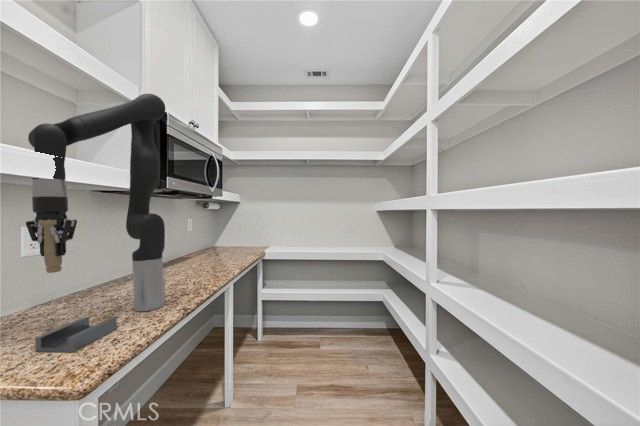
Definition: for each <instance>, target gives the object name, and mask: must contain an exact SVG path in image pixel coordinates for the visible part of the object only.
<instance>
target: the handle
mask: <svg viewBox="0 0 640 426" xmlns="http://www.w3.org/2000/svg"><path fill="white" fill-rule="evenodd" d="M39 224H40V226H42V227H44V231H43V232H44V256H43V260H44V265H45V272H46V273H49V274H52V273H58V272H59V273H60V272H62V263H63V255H62V256H56V248H55V243H56V241H55V238H54V236H53V235H52V234H51V231H50V227H51V226H53V225H54V226H55V225H56V224H57V220H39ZM59 236H60V235H59ZM60 237H61V236H60Z"/></svg>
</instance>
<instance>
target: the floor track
mask: <svg viewBox="0 0 640 426" xmlns="http://www.w3.org/2000/svg"><path fill="white" fill-rule="evenodd" d="M117 323H118V321H117V317H116V316H111V317H109V318H107V319H105V320H103V321H100V322H98V323H96V324H94V325H90V317H89V316H84V317H81V318H79V319H76V320H74V321H72V322H69V323H67V324H65V325H62V326H59V327H57V328H56V329H52V330H51V331H48V332H45V333H43V334H41V335H38V336H36V337H35V338H34V341H35V342H34V343H35V353H75V352H78V351H79V350H81V349H83V348H84V347H86V346H89V345H90V344H92V343H94V342H95V341H97V340H99V339H101V338H103V337H105V336H107V335H109V334H111V333H113V332H114V331H117V330H118V324H117Z"/></svg>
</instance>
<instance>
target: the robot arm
mask: <svg viewBox="0 0 640 426" xmlns="http://www.w3.org/2000/svg"><path fill="white" fill-rule="evenodd" d="M165 113H166V104H165V103H164V100H163V99H162V98H161V97H159V96H158V95H156V94H153V93H143V94H140V95H139V96H137V97H136V98H134V99H131V100H130V101H127V102H126V103H122V104H118V105H116V106H112V107H108V108H104V109H99V110H95V111H92V112H87V113H83V114H79V115H75V116H72V117H69V118H68V119H65V120H63V121H60V122H57V123H41V124H38V125H36V126H35V127H33V129H32V130H31V131H30V132H29V134H28V138H27V139H28V142H29V144H30V146H31V147H33V149H34V151H35V152H40V153H45V154H49V155H54V156H55V158H53V160H54V161H55V166H56V168H55V169H56V171H55V174H54V176H53V178H54V179H39V178H32V183H31V199H32V200H31V202H32V203H31V204H32V212H33V213H34V214H36V215H35V217H34V219H33V220H28V221H26V222H25V225H26V228H27V230H28V233H29V236H30V239H31V241H32V242H37V243H38V244H39V254H40V256H41V257H44V227H42V226H40V224H39V220H57V224H56V225H55V226H54V225H53V226H51V227H50V231H51V234H52V235H53V236H54V238H55V241H56V243H55V248H56V256H62V257H63V256H65V255H66V252H67V242H68V241H70V240H71V241H72V240H73V238H74V235H75V231H76V227H77V223H78V220H77V219H71V218H68V216H67V213H68V211H69V205H68V203H69V200H68V199H69V198H68V185H67V181H66V180H65V179H66V168H65V167H64V166H65V163H66V162H65V161H66V154H67V147H68V146H71V145H73V144H76V143H79V142H83V141H87V140H90V139H94V138H97V137H99V136H102V135H105V134H108V133H110V132H113V131H116V130H117V129H120V128H122V127H125V126H127V125H128V126H129V125H130V130H131V139H130V140H131V142H130V158H129V165H130V166H129V200H128V208H127V215H126V222H125V228H126V233H127V235H128V236H129V237H130V238H132V239H134V240H139V247H138V248H137V249H136V250H134V251H133V252H132V253H131V254H132V255H131V256H132V257H131V260H132V261H131V262H132V282H133V283H132V284H133V288H132V289H133V310H134V311H136V312H149V311H154V310H157V309H160V308H162V307H163V306H165V303H166V290H165V287H166V286H165V277H164V268H163V267H164V265H163V253H164V250H165V244H166V242H165V240H166V239H165V238H166V235H165V234H166V230H165V221H164V219H163V218H162V217H161V216H160V215H159V214H158V213H153V212H152V213H150V202H151V198H152V196H153V194H154V191H155V190H156V188H157V186H158V183H159V180H160V177H161V175H160V174H161V159H160V154H159V151H158V149H157V146H156V143H155V137H154V132H155V123H156V122H158V121H159V120H161V119H162V118H163V117H164V115H165ZM56 156H58V157H56ZM61 157H62V158H61ZM59 235H60V236H59Z"/></svg>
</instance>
